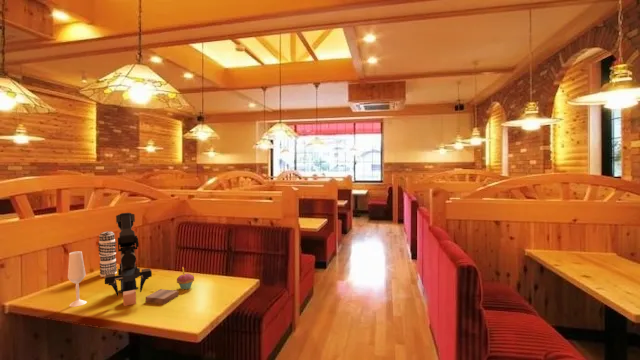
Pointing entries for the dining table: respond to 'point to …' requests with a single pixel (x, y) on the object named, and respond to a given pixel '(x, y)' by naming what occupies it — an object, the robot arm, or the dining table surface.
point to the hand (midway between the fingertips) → (129, 294)
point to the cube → (129, 297)
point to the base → (162, 296)
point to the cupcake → (185, 280)
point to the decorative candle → (107, 253)
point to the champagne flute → (76, 274)
